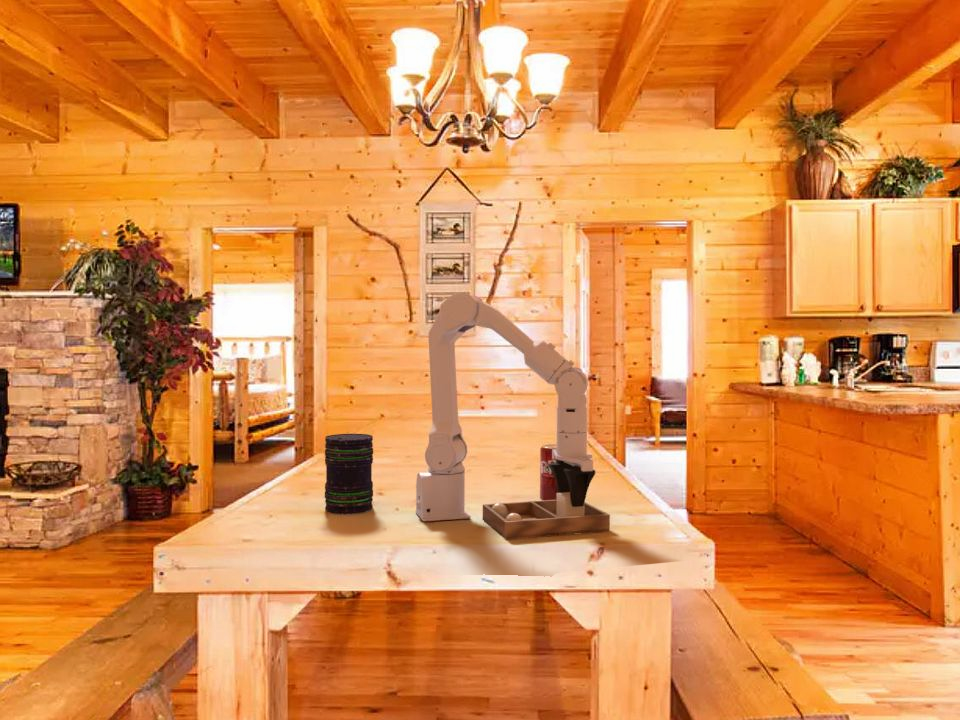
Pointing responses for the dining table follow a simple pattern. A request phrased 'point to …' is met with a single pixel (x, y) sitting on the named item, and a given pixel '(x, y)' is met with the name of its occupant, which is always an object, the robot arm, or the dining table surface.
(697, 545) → the dining table surface
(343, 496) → the black barrel
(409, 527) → the dining table surface
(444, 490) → the robot arm
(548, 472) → the soda can
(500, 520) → the caddy
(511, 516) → the pebble
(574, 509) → the white block
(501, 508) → the pebble
